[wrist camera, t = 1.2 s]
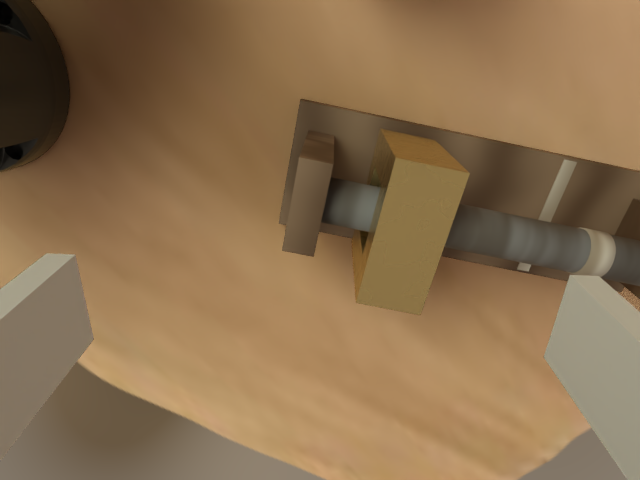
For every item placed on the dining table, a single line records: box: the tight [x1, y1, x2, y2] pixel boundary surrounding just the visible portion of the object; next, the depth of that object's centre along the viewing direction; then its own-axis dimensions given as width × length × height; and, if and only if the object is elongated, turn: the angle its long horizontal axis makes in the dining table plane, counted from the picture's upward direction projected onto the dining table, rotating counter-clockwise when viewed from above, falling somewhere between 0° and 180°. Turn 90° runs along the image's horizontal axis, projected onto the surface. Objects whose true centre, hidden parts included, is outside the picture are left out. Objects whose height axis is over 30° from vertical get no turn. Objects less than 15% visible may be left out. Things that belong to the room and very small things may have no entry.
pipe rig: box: [279, 99, 640, 299], centre depth 31 cm, size 30×10×10 cm, turn 79°
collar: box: [351, 128, 470, 315], centre depth 29 cm, size 4×9×9 cm, turn 169°
